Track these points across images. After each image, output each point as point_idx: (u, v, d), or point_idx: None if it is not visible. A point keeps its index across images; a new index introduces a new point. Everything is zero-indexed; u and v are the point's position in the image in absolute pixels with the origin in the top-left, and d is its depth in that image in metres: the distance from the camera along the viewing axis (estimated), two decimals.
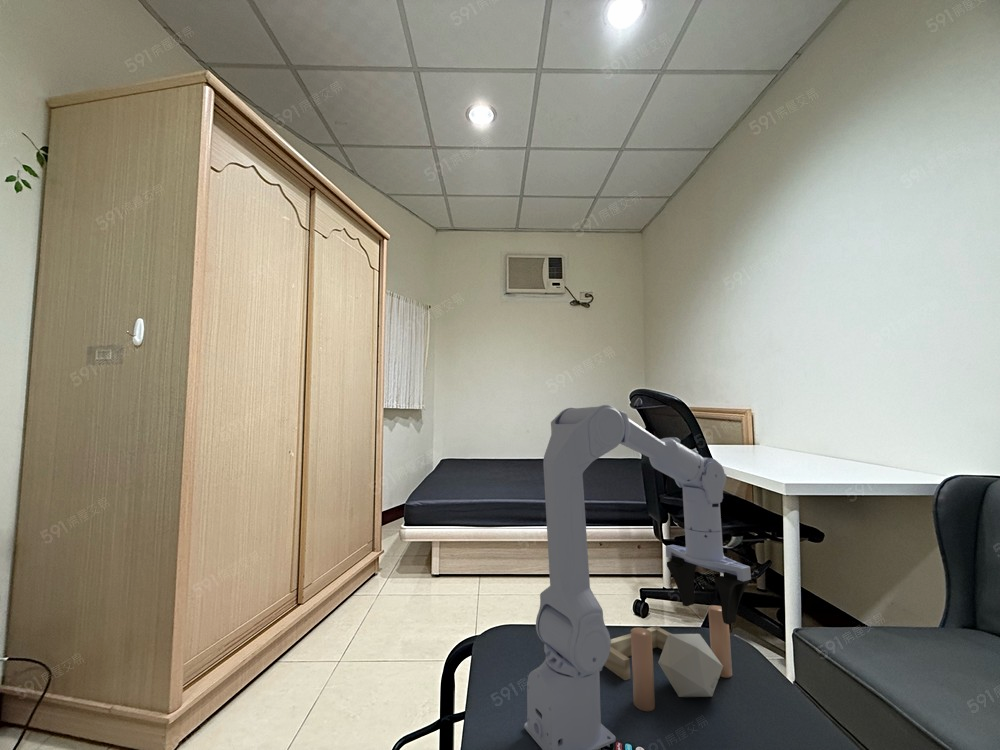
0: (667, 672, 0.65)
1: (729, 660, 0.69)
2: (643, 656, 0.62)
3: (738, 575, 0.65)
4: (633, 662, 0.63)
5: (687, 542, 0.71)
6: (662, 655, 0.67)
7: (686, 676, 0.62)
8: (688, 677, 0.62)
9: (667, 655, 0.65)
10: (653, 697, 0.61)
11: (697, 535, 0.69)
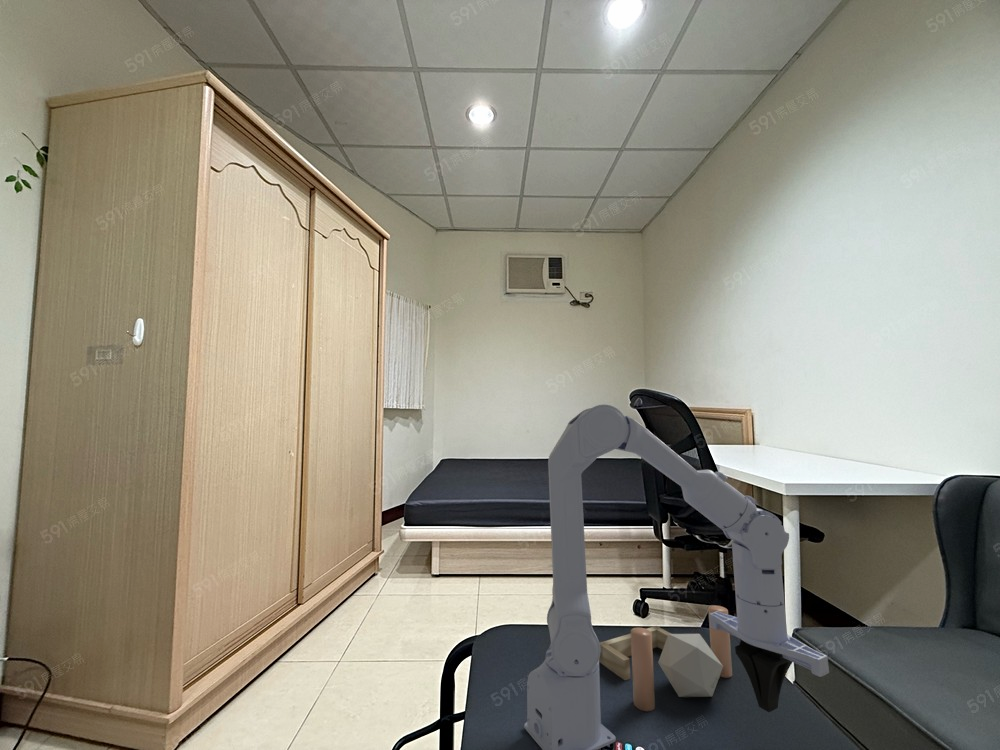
0: (667, 672, 0.65)
1: (729, 660, 0.69)
2: (643, 656, 0.62)
3: (813, 668, 0.50)
4: (633, 662, 0.63)
5: (740, 616, 0.57)
6: (662, 655, 0.67)
7: (686, 676, 0.62)
8: (688, 677, 0.62)
9: (667, 655, 0.65)
10: (653, 697, 0.61)
11: (754, 609, 0.55)
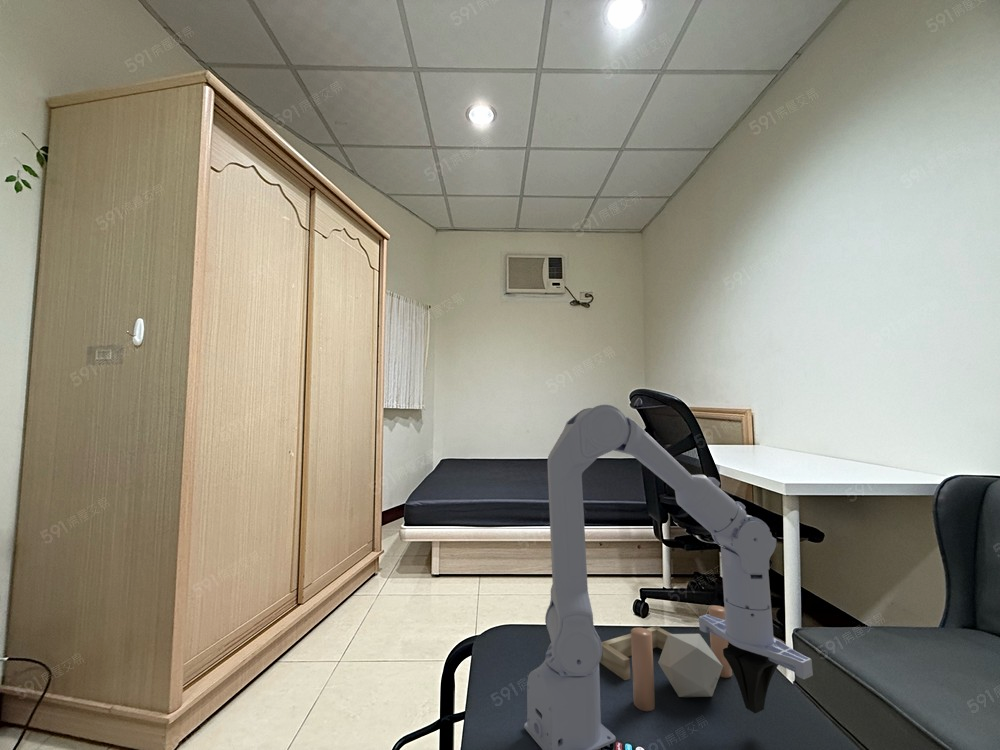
0: (667, 672, 0.65)
1: None
2: (643, 656, 0.62)
3: (797, 670, 0.52)
4: (633, 662, 0.63)
5: (728, 620, 0.58)
6: (662, 655, 0.67)
7: (686, 676, 0.62)
8: (688, 677, 0.62)
9: (667, 655, 0.65)
10: (653, 697, 0.61)
11: (741, 613, 0.56)
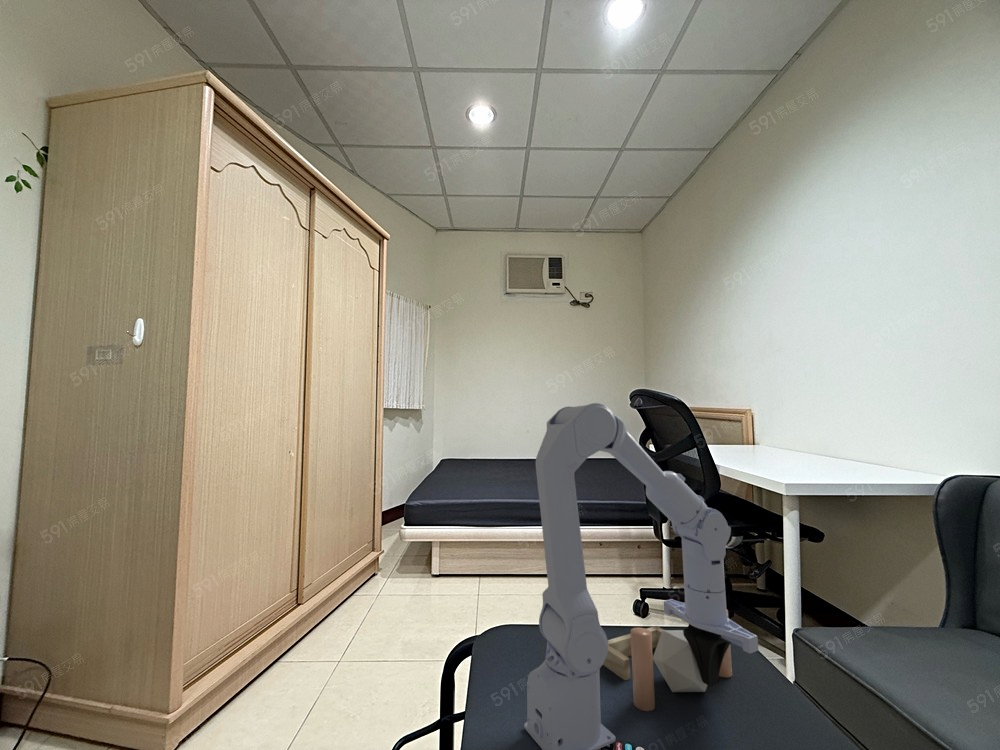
0: (661, 667, 0.66)
1: (729, 660, 0.69)
2: (643, 656, 0.62)
3: (744, 646, 0.57)
4: (633, 662, 0.63)
5: (687, 602, 0.64)
6: (656, 651, 0.68)
7: (679, 671, 0.64)
8: (681, 672, 0.63)
9: (661, 651, 0.67)
10: (653, 697, 0.61)
11: (698, 596, 0.62)
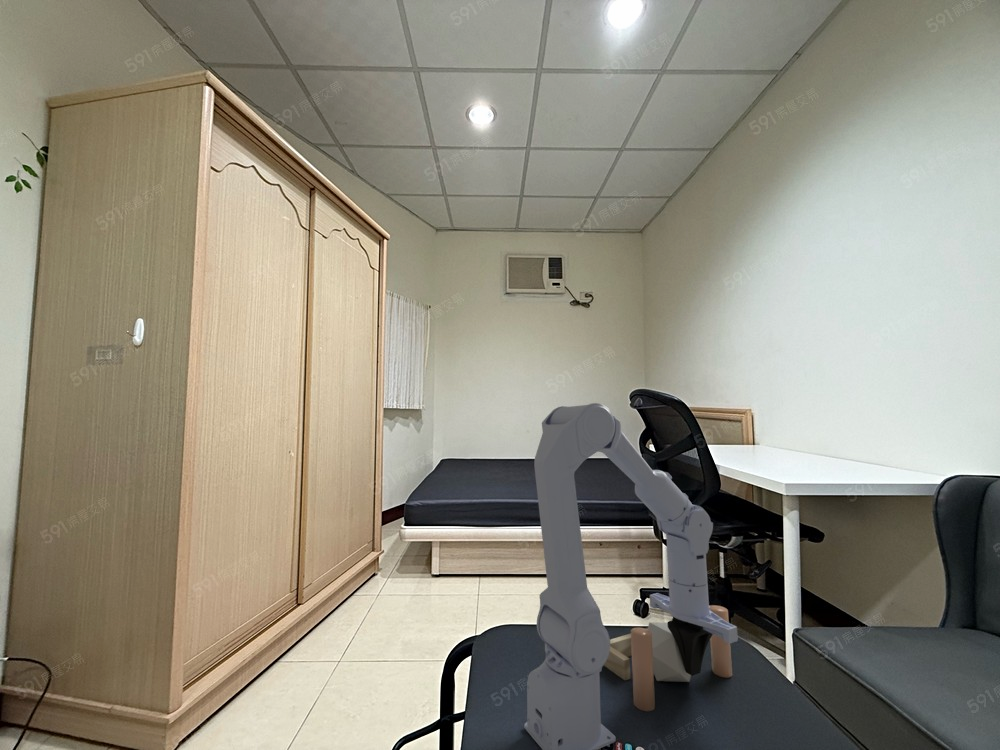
0: None
1: (729, 660, 0.69)
2: (643, 656, 0.62)
3: (724, 636, 0.60)
4: (633, 662, 0.62)
5: (671, 595, 0.67)
6: None
7: (663, 661, 0.66)
8: (664, 661, 0.66)
9: None
10: (653, 697, 0.61)
11: (681, 589, 0.65)
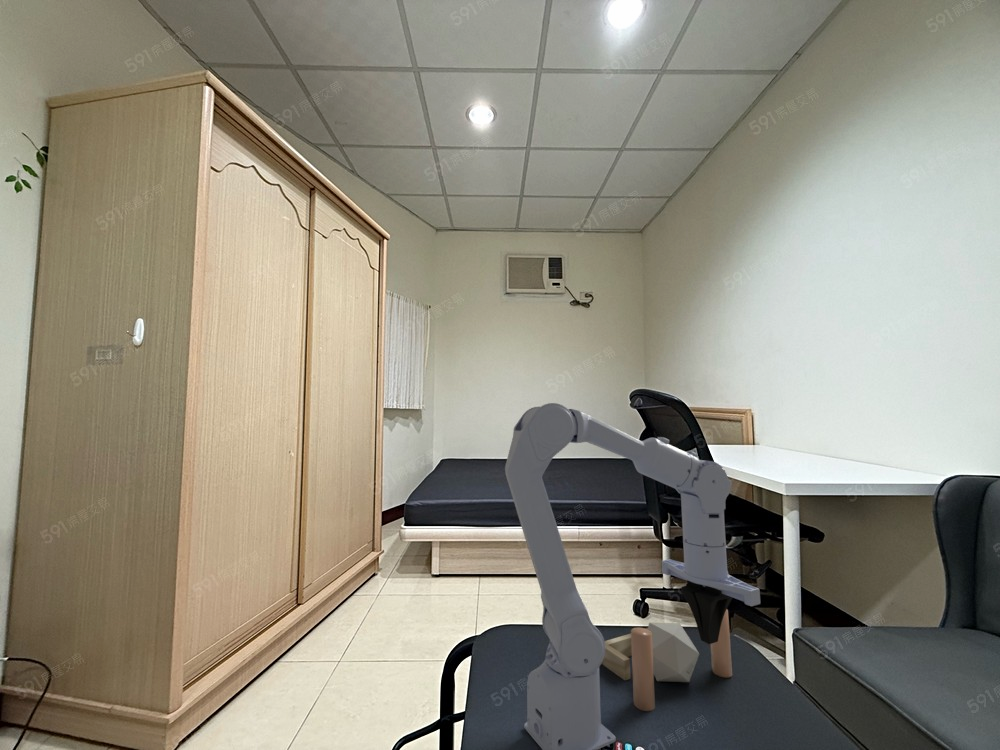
0: None
1: (729, 660, 0.69)
2: (643, 656, 0.62)
3: (745, 599, 0.55)
4: (633, 662, 0.63)
5: (686, 558, 0.62)
6: None
7: (663, 661, 0.66)
8: (664, 662, 0.66)
9: None
10: (653, 697, 0.61)
11: (697, 550, 0.60)
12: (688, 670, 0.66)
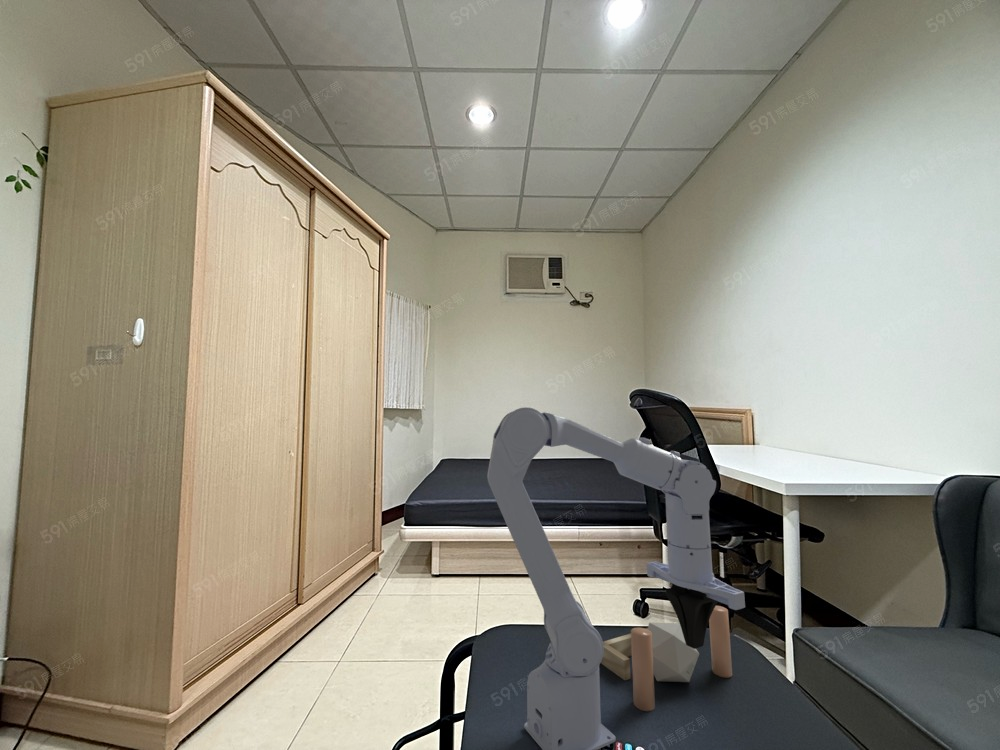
0: None
1: (729, 660, 0.69)
2: (643, 656, 0.62)
3: (729, 602, 0.54)
4: (633, 662, 0.62)
5: (670, 561, 0.60)
6: None
7: (663, 661, 0.66)
8: (664, 662, 0.66)
9: None
10: (653, 697, 0.61)
11: (681, 552, 0.58)
12: (688, 670, 0.66)
